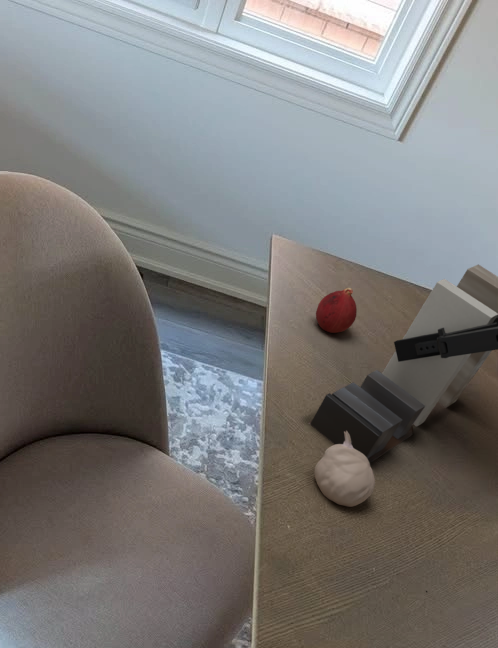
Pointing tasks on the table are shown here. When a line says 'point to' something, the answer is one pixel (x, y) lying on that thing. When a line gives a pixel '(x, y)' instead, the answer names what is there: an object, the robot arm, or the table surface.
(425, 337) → the robot arm
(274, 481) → the table surface
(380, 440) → the book rack
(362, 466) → the garlic bulb
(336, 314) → the red pomegranate
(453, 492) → the table surface
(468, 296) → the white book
